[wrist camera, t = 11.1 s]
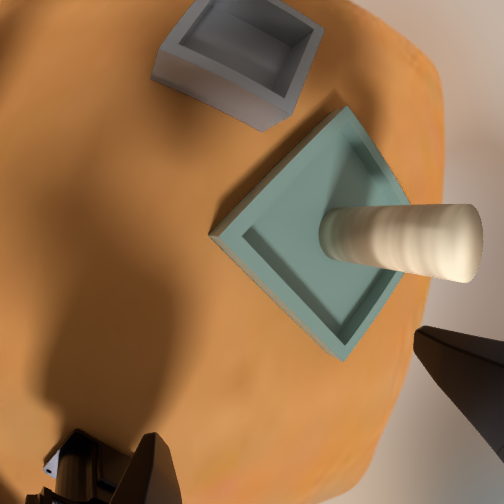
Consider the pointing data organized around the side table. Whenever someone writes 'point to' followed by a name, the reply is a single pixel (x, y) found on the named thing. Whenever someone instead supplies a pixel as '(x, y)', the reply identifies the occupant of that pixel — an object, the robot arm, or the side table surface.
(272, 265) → the green-grey tray
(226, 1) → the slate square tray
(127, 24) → the side table surface
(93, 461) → the robot arm
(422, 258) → the rounded wooden peg
